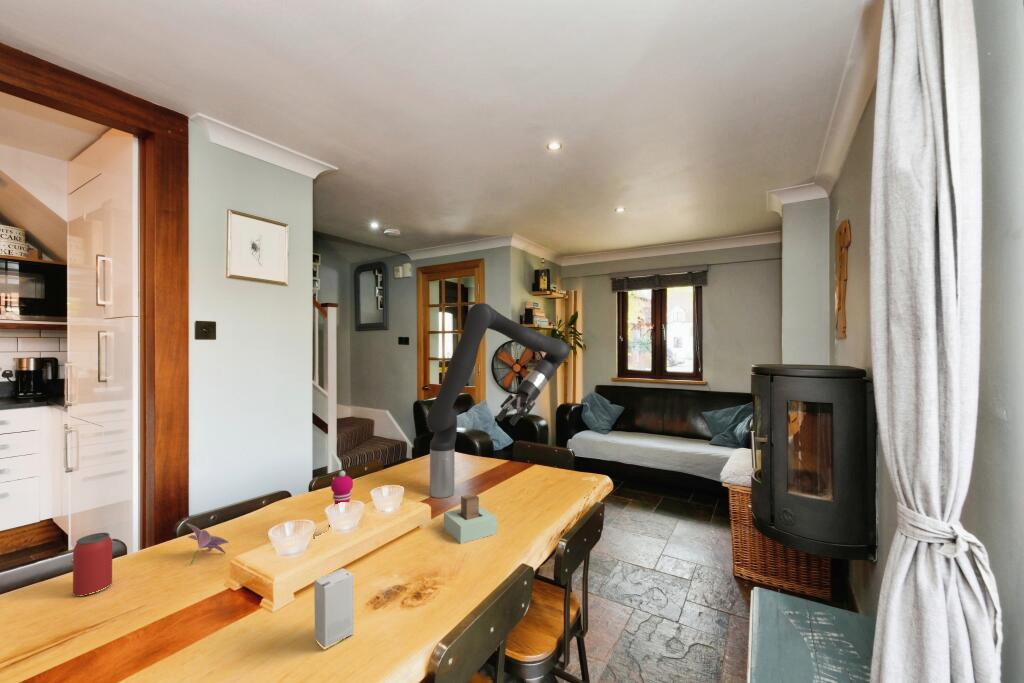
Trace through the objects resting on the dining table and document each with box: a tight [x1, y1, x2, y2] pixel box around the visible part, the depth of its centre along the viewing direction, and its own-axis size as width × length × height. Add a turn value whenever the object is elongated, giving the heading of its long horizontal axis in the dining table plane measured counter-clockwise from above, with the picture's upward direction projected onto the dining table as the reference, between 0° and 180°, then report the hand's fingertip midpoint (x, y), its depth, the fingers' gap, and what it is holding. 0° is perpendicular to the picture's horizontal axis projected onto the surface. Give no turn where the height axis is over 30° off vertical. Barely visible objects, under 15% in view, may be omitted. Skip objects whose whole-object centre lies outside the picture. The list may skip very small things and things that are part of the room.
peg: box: [460, 493, 480, 520], centre depth 132 cm, size 4×4×10 cm
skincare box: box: [313, 568, 355, 647], centre depth 83 cm, size 6×4×12 cm
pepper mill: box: [328, 470, 354, 528], centre depth 126 cm, size 7×7×20 cm
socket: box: [443, 505, 498, 544], centre depth 131 cm, size 12×12×5 cm
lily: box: [185, 522, 230, 565], centre depth 115 cm, size 12×12×10 cm
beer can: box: [72, 532, 113, 596], centre depth 100 cm, size 7×7×12 cm
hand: (504, 421), depth 146 cm, fingers open, 8 cm apart
